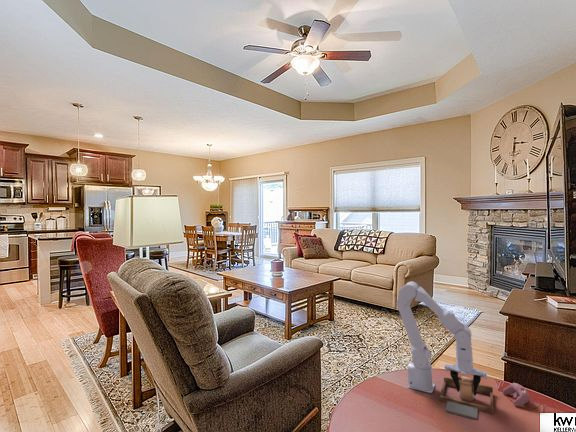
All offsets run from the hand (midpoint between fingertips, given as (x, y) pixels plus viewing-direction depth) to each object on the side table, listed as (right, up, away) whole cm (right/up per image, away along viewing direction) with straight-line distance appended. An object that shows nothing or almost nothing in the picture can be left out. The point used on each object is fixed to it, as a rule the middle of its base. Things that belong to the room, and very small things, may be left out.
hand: (466, 392), depth 122 cm
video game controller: (+17, -2, -4) cm, 18 cm away
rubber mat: (-7, -2, -9) cm, 11 cm away
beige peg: (0, -2, 0) cm, 2 cm away
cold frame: (0, -2, 0) cm, 2 cm away
